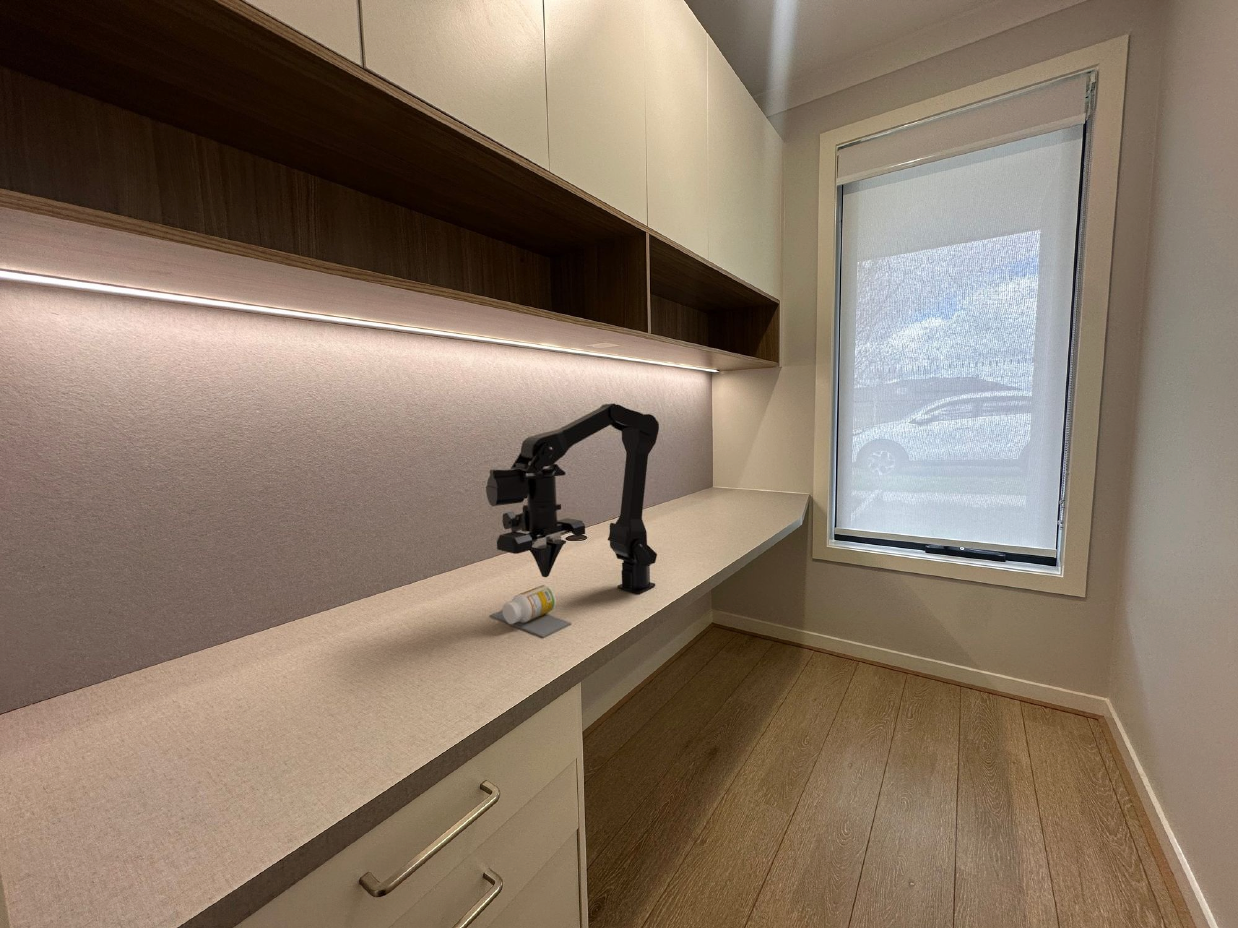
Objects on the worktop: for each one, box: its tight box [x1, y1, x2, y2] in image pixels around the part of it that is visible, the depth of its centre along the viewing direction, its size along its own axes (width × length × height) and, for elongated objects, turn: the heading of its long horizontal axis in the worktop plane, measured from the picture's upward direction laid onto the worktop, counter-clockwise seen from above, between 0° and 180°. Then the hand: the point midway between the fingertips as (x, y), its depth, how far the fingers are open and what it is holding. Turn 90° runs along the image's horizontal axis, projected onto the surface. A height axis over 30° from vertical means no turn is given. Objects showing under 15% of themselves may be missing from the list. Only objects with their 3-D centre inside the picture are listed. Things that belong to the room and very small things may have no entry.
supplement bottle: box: [502, 584, 557, 625], centre depth 94 cm, size 5×5×10 cm
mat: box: [489, 609, 572, 639], centre depth 94 cm, size 7×16×1 cm, turn 51°
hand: (545, 576), depth 97 cm, fingers closed
